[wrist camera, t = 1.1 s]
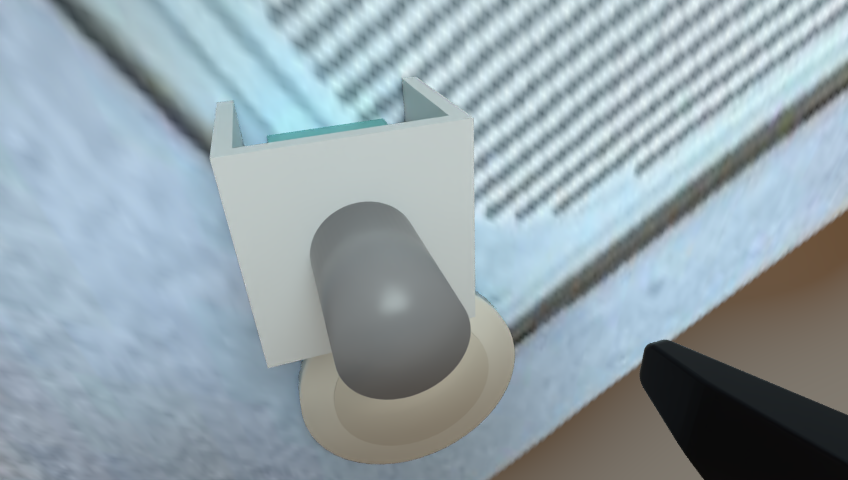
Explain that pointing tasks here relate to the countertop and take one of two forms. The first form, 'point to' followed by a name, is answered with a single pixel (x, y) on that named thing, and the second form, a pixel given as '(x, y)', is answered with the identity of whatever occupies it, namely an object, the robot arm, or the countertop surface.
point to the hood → (358, 242)
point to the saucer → (410, 401)
